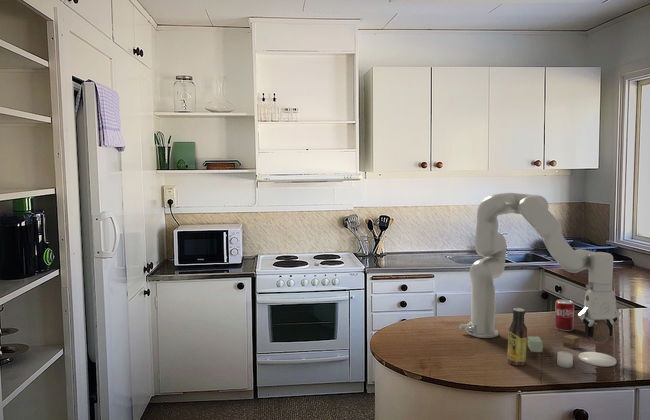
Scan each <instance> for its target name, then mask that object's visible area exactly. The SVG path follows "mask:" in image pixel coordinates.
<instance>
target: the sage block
mask: <svg viewBox="0 0 650 420" xmlns="http://www.w3.org/2000/svg"><path fill="white" fill-rule="evenodd" d="M543 344H544V343H543V341H542V339H541V338H540V336H531V335H530V336H528V335H527V347H528V349H529V350H530V352H534V353H543V349H544V348H543Z"/></svg>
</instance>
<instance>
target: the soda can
mask: <svg viewBox="0 0 650 420" xmlns="http://www.w3.org/2000/svg"><path fill="white" fill-rule="evenodd" d="M554 310H555V311H554V328H555V329H556V330H558V331H563V332H571V331H573V330H574V321H575V319H574V315H575V303H574V302H573V301H572V300H568V299H557V300H556V301H555V307H554Z"/></svg>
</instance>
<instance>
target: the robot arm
mask: <svg viewBox="0 0 650 420" xmlns="http://www.w3.org/2000/svg"><path fill="white" fill-rule="evenodd" d="M549 205H550V204H549V202H548V201H547V199H546V198H545V197H544V196H542V195H539V194H528V193H518V192H503V193H501V192H500V193H495V194H492V195H490V196H486V197H485V198H484V199H482V200H481V202H480V203H479V205H478V208H477V212H476V227H475V236H474V237H475V239H474V249H475V250H474V251H475V253H476V254H478V256H480V257H483V258H481V259H477V260H475V261H474V262H473V263H472V265H471V266H470V269H469V279H470V288H471V289H470V292H471V295H470V296H471V297H470V321H468V323H466V324H465V323H464V324H459V329H460V330H465V331H466V333H467V334H468V335H469V336H472V337H476V338H479V339H480V338H481V339H493V338H496V337H498V336H499V331H498V330H497V329H495V325H496V323H495V321H496V319H495V318H496V315H495V314H496V289H495V283H494V280H496V279H497V278H500V277H501V276H502V275H503V273H504V271H505V266H506V255H507V241H506V238H505V236H504V235H503V234H502V233H500V232H499V231H498V230H499V221H498V216H500V215H501V216H502V215H508V214H514V215H515V214H517V215H522V217H523V218H524V219H525V221H526V222H528V224H529V225H530V226H531V227H532V228H533V229H534V230H535V232H536V233H537V234H538V235H539V236H540V237H541V239H542V241H543V243H544V246H545V247H546V249H547V251H548V252H549V254H550V255H551V257H552V258H553V259H554V261H556V263H557V264H558V265H559V266H560V267H561V268H562V269H563V270H565V271H566V272H568V273H570V274H571V273H572V274H575V273H577V274H578V273H579V272H581V271H584V270H588V284H586V285H585V288H586V292H585V296H584V302H583V309H582V310H581V311H580V312H579V313H578V314H577V317H578V318H579V319H580V321H581V322H582V323H583V325H584V334H585V336H587V337H588V338H590V337H593V327H592V326H591V325H592V323H593V321H594V320H604V321H605V322H606V324H607V325H608V327H609V330H610V336H609V337H612V336H613V326H614V325H615V322H616V321H617V320H618V319H619V317H620V316H621V312H620V311H619V310H618V309H617V300H616V293H615V291H614V290H613V277H614V276H613V273H614V270H613V269H614V256H613V255H612V253H608V252H603V251H591V250H587V249H583V248H582V249H581V248H579V249H573V248H572V246H571V245H570V244H569V243H568V242H567V240H566V239H565V236H564V234H563V231H562V230H563V229H562V224H561V222H560V221H559V220H558V219H557V218H556V217H555V216H554V214H553V213H551V212H550V210H549Z"/></svg>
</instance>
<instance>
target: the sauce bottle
mask: <svg viewBox="0 0 650 420" xmlns="http://www.w3.org/2000/svg"><path fill="white" fill-rule="evenodd" d="M525 315H526V309H524V308H521V307H515V308H513V309H512V322H511V324H510V326H509V328H508V334H507V335H508V338H507V357H506V358H507V362H508V363H509V364H511V365H513V366H524V365H526V361H527V360H526V359H527V347H528V328H527V326H526V324H525Z"/></svg>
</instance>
